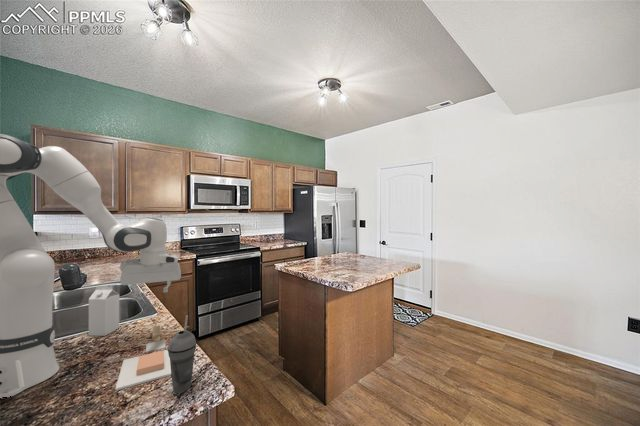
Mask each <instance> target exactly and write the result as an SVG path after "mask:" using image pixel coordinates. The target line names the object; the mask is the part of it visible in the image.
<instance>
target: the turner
mask: <svg viewBox="0 0 640 426" xmlns="http://www.w3.org/2000/svg"><path fill="white" fill-rule="evenodd" d="M163 350H166V339H161V325H154V326H153V328H152V342H148V343H146V346H145V354H150V353H154V352H159V351H163Z"/></svg>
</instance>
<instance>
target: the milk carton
mask: <svg viewBox="0 0 640 426" xmlns="http://www.w3.org/2000/svg"><path fill="white" fill-rule="evenodd" d="M113 288H114V286H96V287H95V290H94V291H93V293H92V294H91V296H89V298H88V336H90V337H93V336H94V337H105V336H107V335H109V334H112V333H113V332H115V331H117V330H119V329H120V293H119V292H117V291H116V290H114V289H113ZM118 328H119V329H118ZM116 329H117V330H116Z"/></svg>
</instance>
